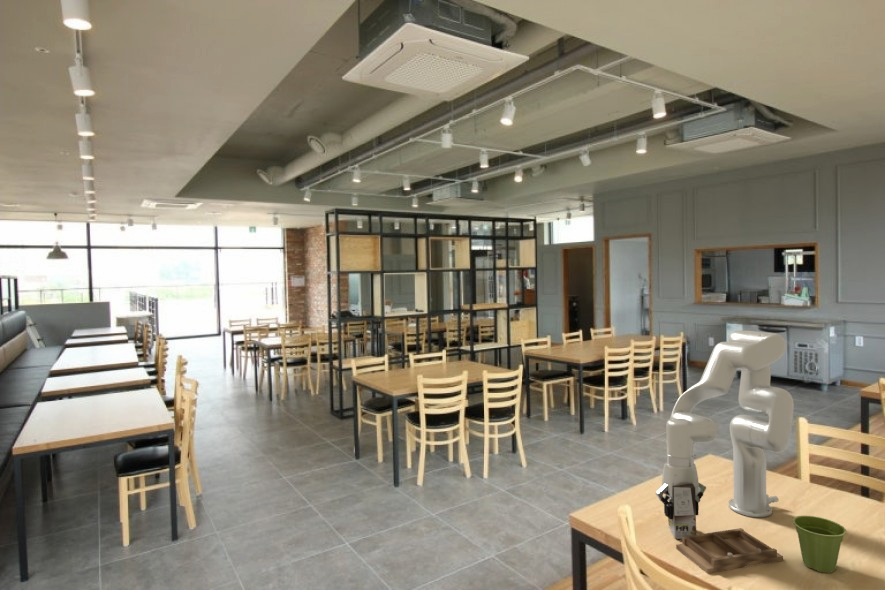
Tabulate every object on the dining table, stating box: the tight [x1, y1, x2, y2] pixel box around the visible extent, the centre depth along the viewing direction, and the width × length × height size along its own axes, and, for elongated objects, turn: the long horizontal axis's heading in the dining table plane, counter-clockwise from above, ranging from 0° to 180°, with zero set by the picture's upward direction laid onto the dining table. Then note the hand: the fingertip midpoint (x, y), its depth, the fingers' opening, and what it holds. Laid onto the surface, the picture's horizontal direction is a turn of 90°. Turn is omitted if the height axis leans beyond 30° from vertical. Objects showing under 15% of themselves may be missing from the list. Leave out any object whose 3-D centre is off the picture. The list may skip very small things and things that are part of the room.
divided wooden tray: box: [675, 527, 784, 574], centre depth 149 cm, size 24×13×4 cm, turn 102°
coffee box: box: [667, 483, 697, 540], centre depth 162 cm, size 9×6×16 cm
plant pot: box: [792, 515, 847, 573], centre depth 142 cm, size 12×12×11 cm
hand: (681, 515), depth 162 cm, fingers closed on coffee box, 8 cm apart
